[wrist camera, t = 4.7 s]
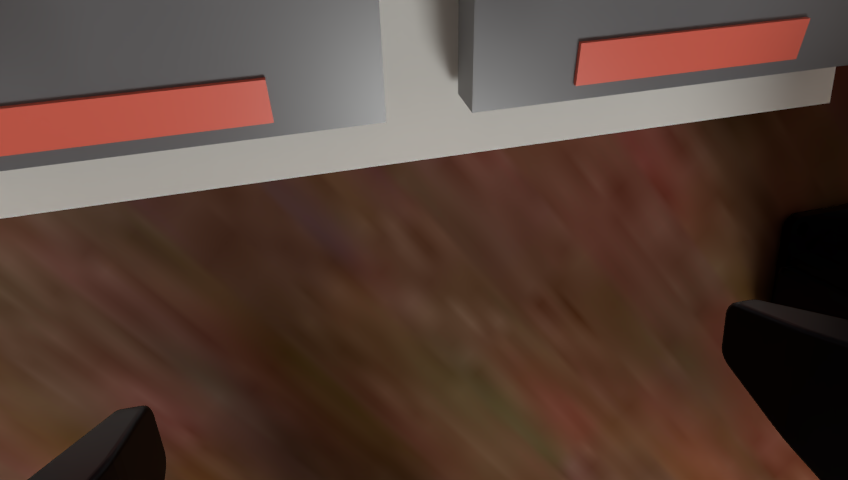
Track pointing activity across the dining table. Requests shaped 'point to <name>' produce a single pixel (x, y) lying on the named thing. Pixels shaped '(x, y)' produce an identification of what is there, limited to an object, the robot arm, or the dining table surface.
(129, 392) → the dining table surface
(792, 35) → the panel
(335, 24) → the outer rocker
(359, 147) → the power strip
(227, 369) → the dining table surface
